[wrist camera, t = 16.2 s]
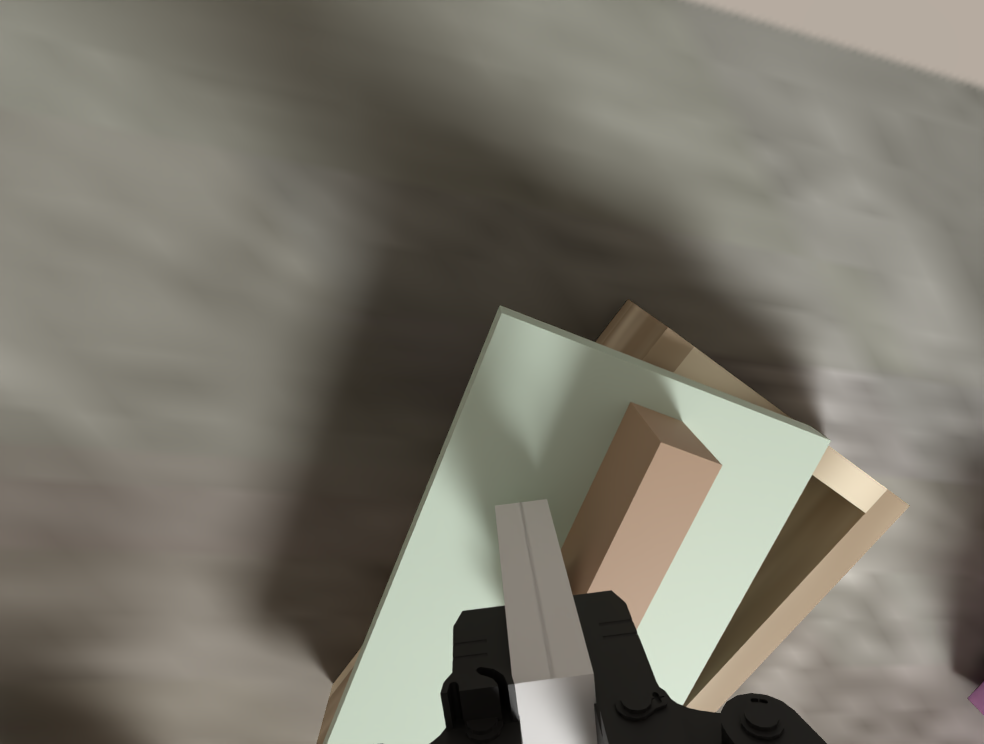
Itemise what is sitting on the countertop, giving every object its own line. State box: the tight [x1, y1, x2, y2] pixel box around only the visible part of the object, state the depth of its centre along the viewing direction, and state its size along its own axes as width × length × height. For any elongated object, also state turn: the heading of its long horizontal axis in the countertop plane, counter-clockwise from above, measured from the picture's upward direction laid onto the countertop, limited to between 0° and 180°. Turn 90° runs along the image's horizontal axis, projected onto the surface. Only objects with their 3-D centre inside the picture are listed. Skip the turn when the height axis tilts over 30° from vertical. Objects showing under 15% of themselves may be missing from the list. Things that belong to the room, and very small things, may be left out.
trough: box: [317, 299, 909, 744], centre depth 25 cm, size 10×20×5 cm, turn 144°
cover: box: [323, 305, 831, 744], centre depth 20 cm, size 20×10×4 cm, turn 158°
